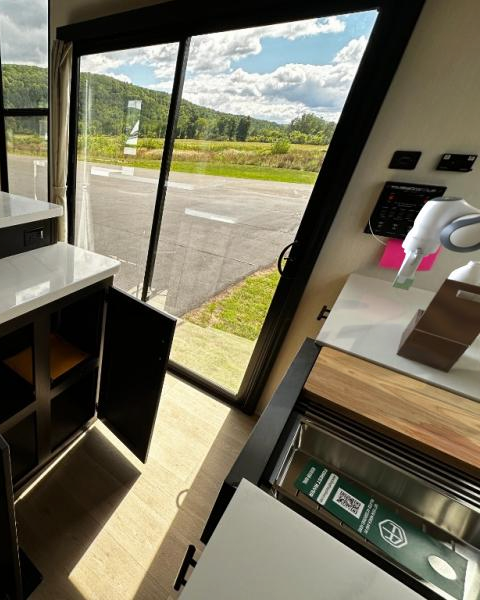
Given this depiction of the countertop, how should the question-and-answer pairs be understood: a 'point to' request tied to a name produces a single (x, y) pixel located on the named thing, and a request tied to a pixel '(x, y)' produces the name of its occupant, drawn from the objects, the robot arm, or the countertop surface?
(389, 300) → the countertop surface
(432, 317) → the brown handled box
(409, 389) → the countertop surface
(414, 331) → the chest
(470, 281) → the water bottle
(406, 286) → the block
